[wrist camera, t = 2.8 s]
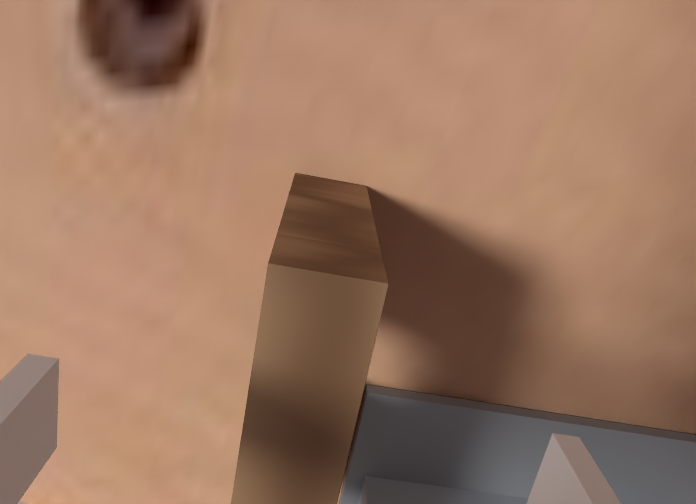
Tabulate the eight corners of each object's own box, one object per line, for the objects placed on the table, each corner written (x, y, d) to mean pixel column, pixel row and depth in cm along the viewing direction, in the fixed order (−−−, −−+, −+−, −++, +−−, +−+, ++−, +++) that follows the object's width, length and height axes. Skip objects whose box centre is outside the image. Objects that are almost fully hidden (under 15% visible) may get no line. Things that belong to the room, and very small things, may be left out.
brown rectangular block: (251, 442, 33) (208, 652, 22) (295, 173, 27) (268, 263, 16) (311, 451, 33) (299, 662, 22) (366, 186, 28) (388, 283, 16)
